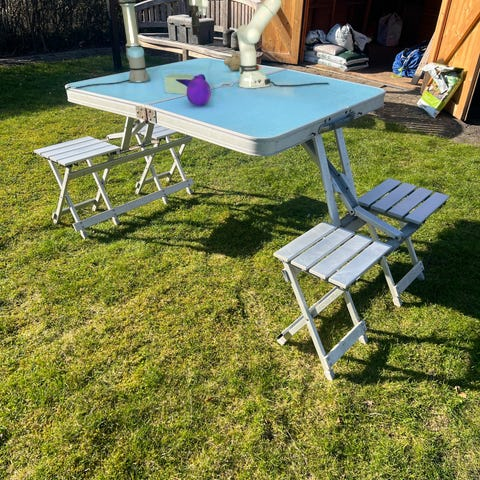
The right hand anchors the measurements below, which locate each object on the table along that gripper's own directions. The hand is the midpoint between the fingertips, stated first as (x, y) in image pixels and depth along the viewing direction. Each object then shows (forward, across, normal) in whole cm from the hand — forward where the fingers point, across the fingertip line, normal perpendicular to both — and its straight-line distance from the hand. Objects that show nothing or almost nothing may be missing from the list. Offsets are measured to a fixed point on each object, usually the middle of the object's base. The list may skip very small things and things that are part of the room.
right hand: (202, 15), depth 285 cm
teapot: (+46, +62, -39) cm, 87 cm away
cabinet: (+46, 0, +17) cm, 49 cm away
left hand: (+19, +62, -8) cm, 65 cm away
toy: (+46, -36, +15) cm, 60 cm away
